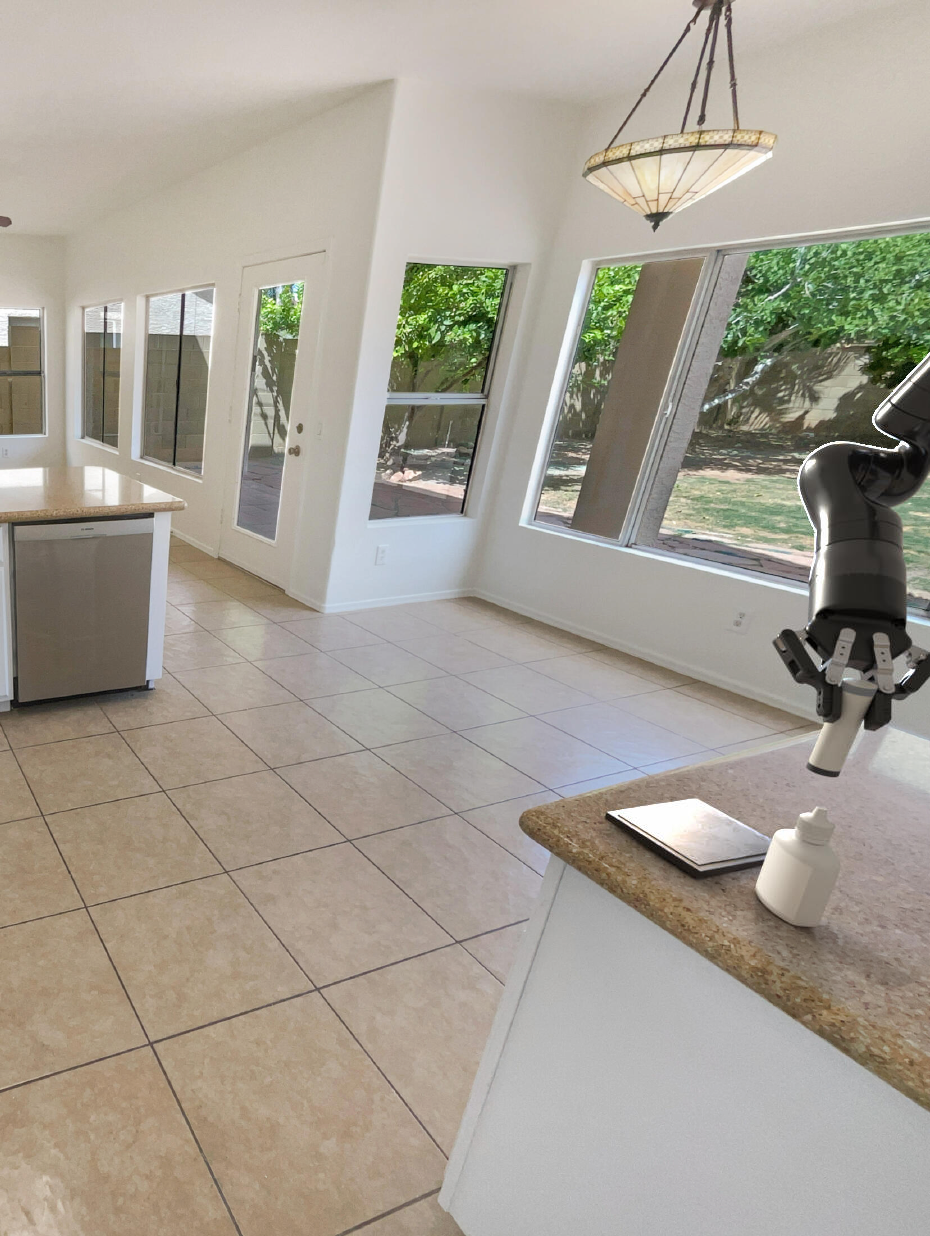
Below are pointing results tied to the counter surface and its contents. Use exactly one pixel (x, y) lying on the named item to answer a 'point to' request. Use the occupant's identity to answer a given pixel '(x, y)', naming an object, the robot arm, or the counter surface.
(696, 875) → the tablet
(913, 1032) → the counter surface
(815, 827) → the eye dropper bottle
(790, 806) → the counter surface
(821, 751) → the stylus
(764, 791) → the counter surface
